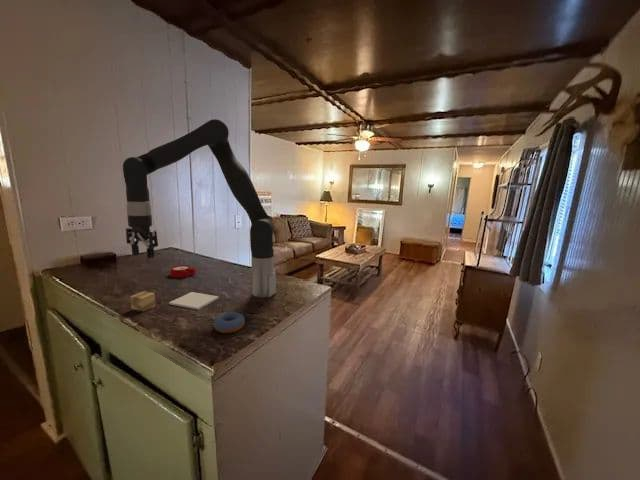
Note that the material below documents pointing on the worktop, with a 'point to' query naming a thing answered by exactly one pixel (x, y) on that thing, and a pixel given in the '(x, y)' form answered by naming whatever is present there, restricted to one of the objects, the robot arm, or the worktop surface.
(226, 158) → the robot arm
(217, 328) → the doughnut
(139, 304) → the maple block
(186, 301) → the plate
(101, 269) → the worktop surface
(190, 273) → the alarm clock
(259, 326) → the worktop surface
